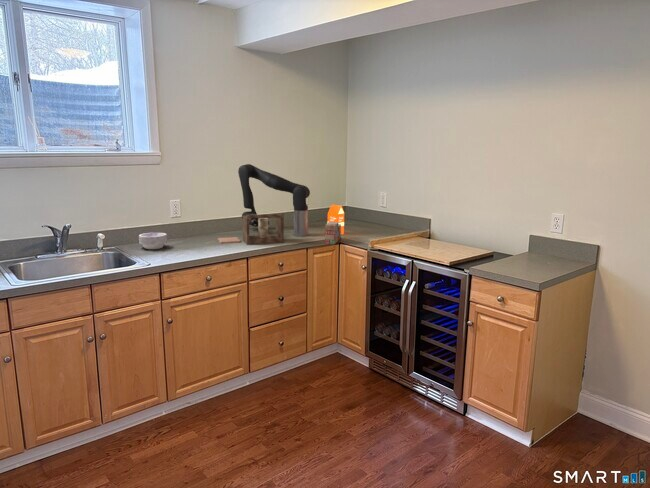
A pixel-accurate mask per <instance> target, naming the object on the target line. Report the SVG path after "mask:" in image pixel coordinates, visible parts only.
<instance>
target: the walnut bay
mask: <svg viewBox="0 0 650 488" xmlns="http://www.w3.org/2000/svg"><path fill="white" fill-rule="evenodd" d="M284 217H285V216H284V213H270V214H269V213H268V214H265V213H264V214H257V215H246V216H243V219H242V241H243V242H244V243H245V244H246V245H248V246H249V245H266V244H268V245H269V244H283V243H284V238H285V237H284V233H285V232H284V231H285V230H284V228H285V227H284V225H285V221H284V220H285V218H284ZM252 218H268V219H274V218H275V219H276V222H275V226H276V228H275V229H276V231H275V232H276V233H275V234H268V238H260V237H258V234H257V235H250V225H249V219H252Z"/></svg>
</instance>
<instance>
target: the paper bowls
mask: <svg viewBox="0 0 650 488" xmlns="http://www.w3.org/2000/svg"><path fill="white" fill-rule="evenodd" d="M167 235H168V234H167V233H165V232H146V233H141V234H139V235H138V243H139V244H140V245H142V247H143V248H144V249H146V250H159V249H162V248H163V247H164V245H165V244H167V243H168V236H167Z"/></svg>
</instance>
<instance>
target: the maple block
mask: <svg viewBox="0 0 650 488" xmlns="http://www.w3.org/2000/svg"><path fill="white" fill-rule="evenodd" d="M268 221H269V218H258V227H257V228H258V229H257V231H258V232H257V233H258V234H257V235H258V237H260V238H268V235H269V225H268Z"/></svg>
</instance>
